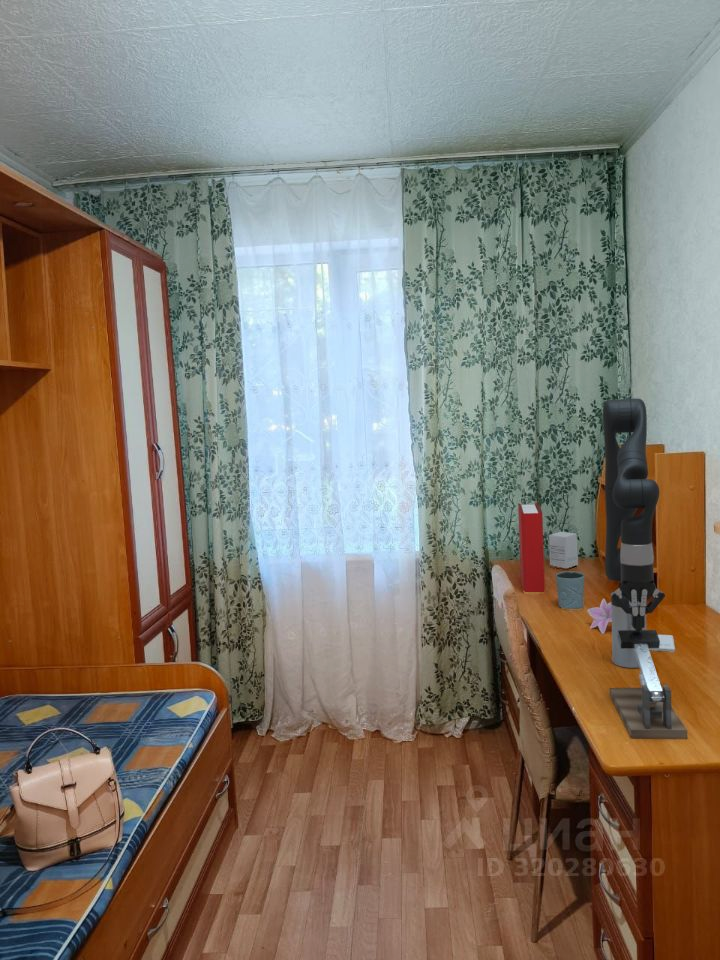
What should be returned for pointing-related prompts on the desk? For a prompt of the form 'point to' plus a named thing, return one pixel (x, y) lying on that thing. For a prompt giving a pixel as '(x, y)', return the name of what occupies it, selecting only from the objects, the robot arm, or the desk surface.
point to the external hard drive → (665, 643)
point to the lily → (601, 615)
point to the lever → (644, 658)
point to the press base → (647, 714)
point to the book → (531, 547)
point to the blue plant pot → (570, 589)
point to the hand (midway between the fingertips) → (637, 629)
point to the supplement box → (563, 549)
